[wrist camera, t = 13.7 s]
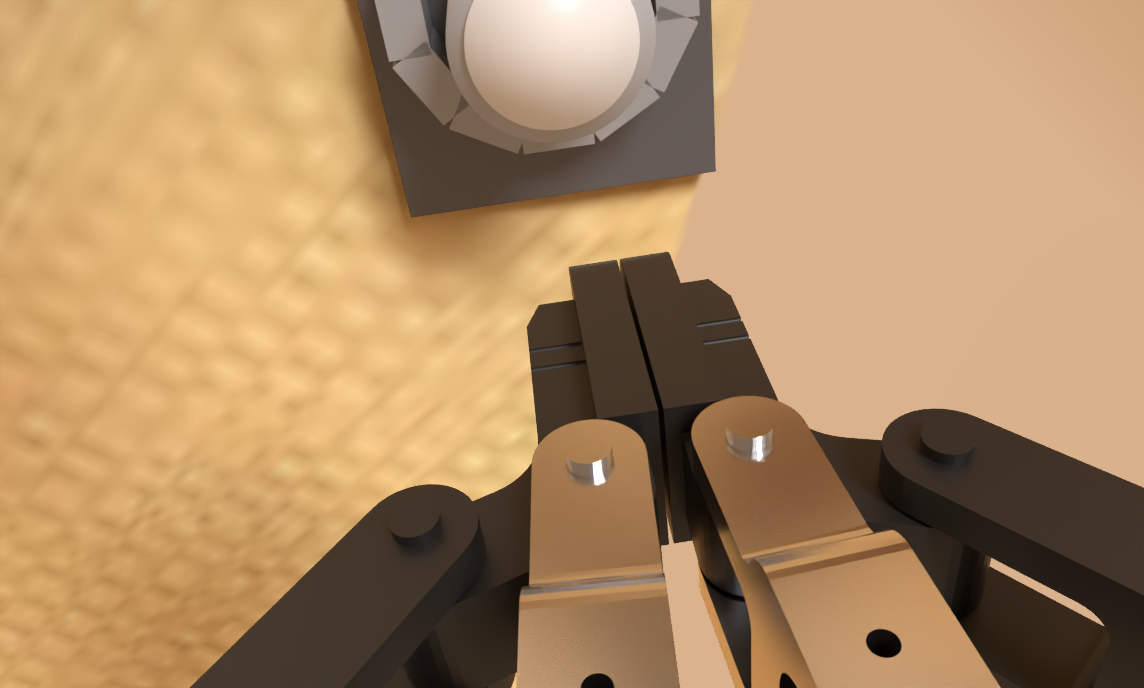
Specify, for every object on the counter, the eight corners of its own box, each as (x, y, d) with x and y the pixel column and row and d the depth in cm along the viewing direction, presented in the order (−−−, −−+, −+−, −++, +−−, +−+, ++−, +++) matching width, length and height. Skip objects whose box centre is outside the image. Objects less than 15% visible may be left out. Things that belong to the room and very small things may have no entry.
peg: (433, -100, 29) (424, -52, 23) (612, -127, 29) (650, -85, 23) (466, 77, 32) (467, 160, 26) (627, 53, 32) (664, 130, 26)
